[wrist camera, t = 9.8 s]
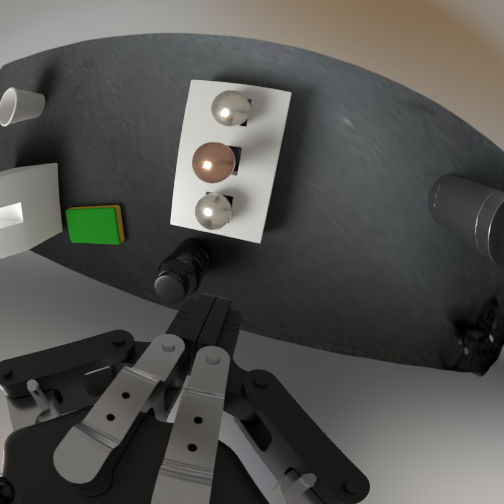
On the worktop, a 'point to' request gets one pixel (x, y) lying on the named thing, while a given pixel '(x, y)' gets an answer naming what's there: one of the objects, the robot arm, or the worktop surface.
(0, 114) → the dixie cup
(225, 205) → the knob
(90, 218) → the dish sponge
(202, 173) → the knob centre
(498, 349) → the worktop surface
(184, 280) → the supplement bottle
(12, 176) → the white house-shaped block
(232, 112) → the knob
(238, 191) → the mount
